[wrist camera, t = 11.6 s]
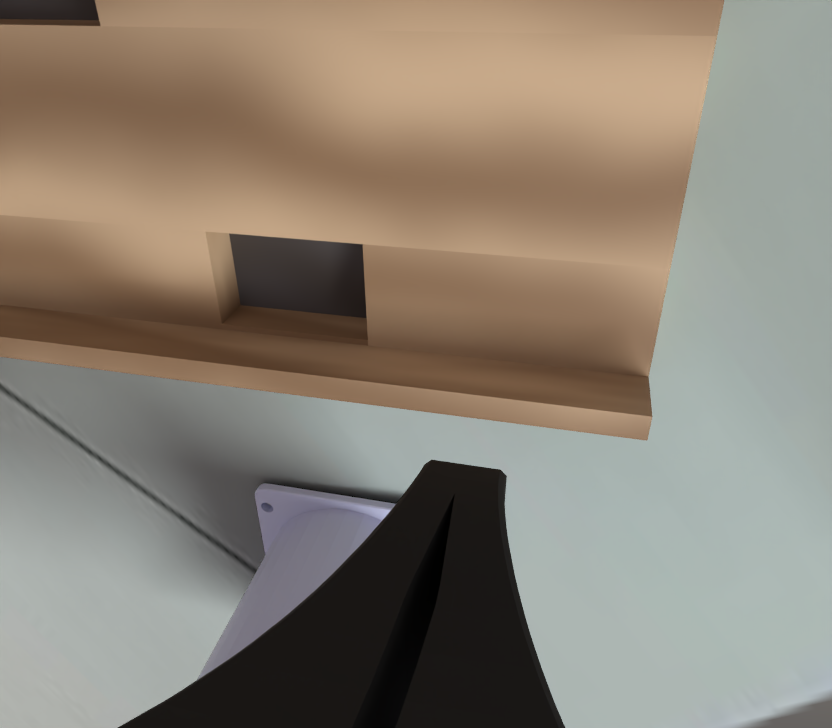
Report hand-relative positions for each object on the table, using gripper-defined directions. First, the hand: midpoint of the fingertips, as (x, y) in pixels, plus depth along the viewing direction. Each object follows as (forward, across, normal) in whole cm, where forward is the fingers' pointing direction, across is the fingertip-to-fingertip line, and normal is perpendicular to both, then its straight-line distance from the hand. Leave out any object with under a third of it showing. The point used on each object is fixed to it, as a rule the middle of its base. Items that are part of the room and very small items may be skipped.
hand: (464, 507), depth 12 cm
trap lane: (+10, +11, -4) cm, 15 cm away
